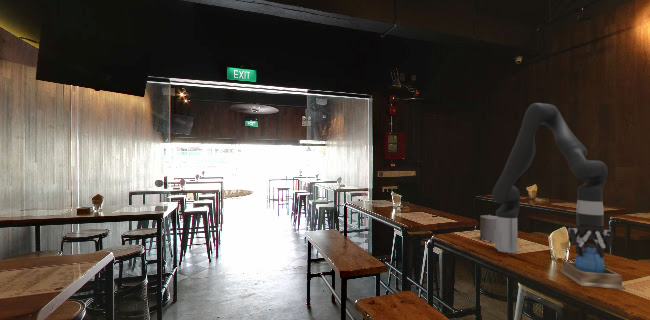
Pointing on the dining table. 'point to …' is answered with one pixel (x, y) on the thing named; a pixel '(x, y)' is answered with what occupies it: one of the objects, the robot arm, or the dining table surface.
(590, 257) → the perfume bottle
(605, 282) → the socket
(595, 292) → the dining table surface
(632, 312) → the dining table surface
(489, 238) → the pillar candle
